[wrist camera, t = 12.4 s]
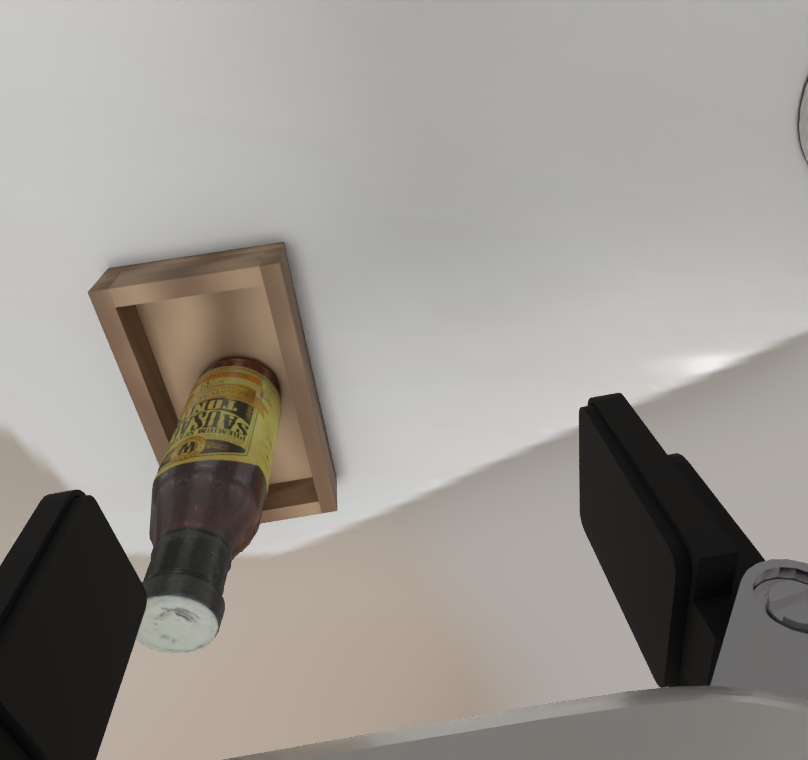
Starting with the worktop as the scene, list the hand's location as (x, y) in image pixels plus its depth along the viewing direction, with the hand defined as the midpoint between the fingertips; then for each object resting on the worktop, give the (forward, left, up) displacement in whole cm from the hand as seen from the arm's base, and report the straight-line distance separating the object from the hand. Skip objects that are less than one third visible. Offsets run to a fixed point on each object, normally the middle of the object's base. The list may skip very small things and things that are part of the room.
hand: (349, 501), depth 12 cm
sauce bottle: (+9, +14, -30) cm, 34 cm away
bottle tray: (+10, +14, -31) cm, 35 cm away
